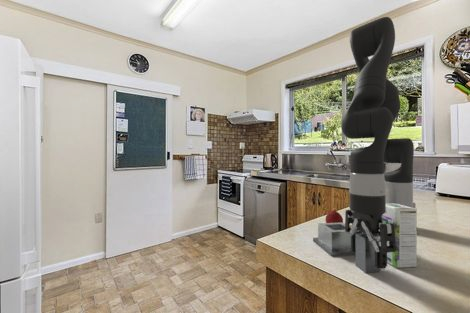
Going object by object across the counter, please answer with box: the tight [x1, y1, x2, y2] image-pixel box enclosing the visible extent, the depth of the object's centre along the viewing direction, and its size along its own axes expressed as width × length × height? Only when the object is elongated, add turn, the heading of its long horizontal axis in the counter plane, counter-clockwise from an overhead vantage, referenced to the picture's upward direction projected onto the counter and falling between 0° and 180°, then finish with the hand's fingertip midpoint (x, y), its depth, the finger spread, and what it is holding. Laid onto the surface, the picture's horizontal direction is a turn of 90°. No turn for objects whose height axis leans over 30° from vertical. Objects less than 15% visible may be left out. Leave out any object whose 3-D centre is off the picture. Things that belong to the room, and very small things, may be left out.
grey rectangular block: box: [355, 233, 381, 274], centre depth 54 cm, size 4×4×8 cm
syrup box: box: [380, 203, 418, 269], centre depth 57 cm, size 6×6×14 cm
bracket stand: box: [312, 222, 379, 257], centre depth 68 cm, size 20×11×23 cm, turn 96°
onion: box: [325, 208, 344, 223], centre depth 82 cm, size 6×6×8 cm
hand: (367, 259), depth 54 cm, fingers open, 8 cm apart
